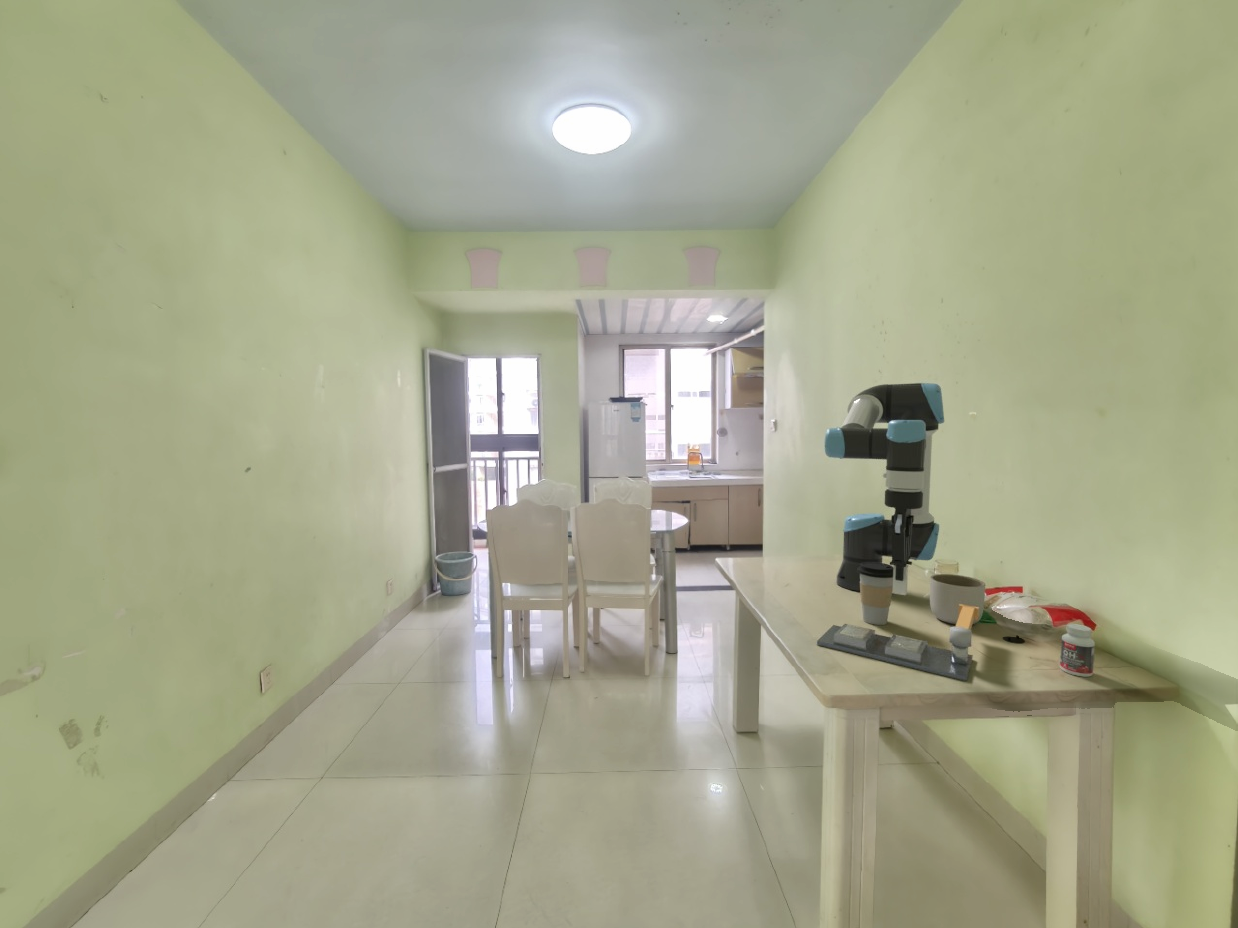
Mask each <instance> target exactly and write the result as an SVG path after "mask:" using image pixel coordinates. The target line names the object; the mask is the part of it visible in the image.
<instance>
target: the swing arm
mask: <svg viewBox="0 0 1238 928" xmlns="http://www.w3.org/2000/svg"><path fill="white" fill-rule="evenodd" d="M978 613H979V607H974V606H968V605H962V604H959V615H958V616H959V618H958V620H957V623H956V624H955V626H950V628H949V641H948V642H949V644H951V645H952V644H953V645H956V646H960V647H968V648H970V647H971V646H972V639H973V637H972V636H973V633H972V632H973V631H972V627H973V625H974V624H973V621H974V619H975V620H978Z"/></svg>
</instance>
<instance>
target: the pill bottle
mask: <svg viewBox="0 0 1238 928" xmlns="http://www.w3.org/2000/svg"><path fill="white" fill-rule="evenodd" d="M1065 631H1066V633H1064V634H1062V636H1061V641H1060V642H1061V645H1060V655H1059V657H1060V659H1059V660H1060V661H1059V668H1060V669H1061V670H1062V671H1063V672H1065V673H1067V674H1069V675H1073V676H1078V677H1081V678H1082V677H1084V678H1088V677H1091V676H1093V673H1094V662H1095V661H1094V660H1095V647H1096V642H1095V640H1094V639H1093V638H1092V628H1090V627H1089V626H1085V625H1082V624H1078V623H1077V624H1076V623H1067V625H1066V629H1065Z"/></svg>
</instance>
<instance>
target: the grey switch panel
mask: <svg viewBox="0 0 1238 928" xmlns="http://www.w3.org/2000/svg"><path fill="white" fill-rule="evenodd" d="M816 645H817V646H819V647H820V646H821V647H824V648H829V649H832V650H836V651H841V652H844V653H850V654H852V655H858V656H861V657H865V658H869V659H873V660H877V661H881V662H885V663H890V664H894V665H899V666H902V667H906V668H910V669H914V670H918V671H923V672H927V673H930V674H934V675H937V676H938V675H939V676H943V677H948V678H952V679H956V680H959V681H964V682H967V680H968V676H969V674H970V670H971V666H972V663H973V658H974V657H973V655H972V654H969V647H960V646H956V645H953V644H951V650H950V649H946V648H941V647H937V646H931V645H928V640H922V639H918V638H913V637H908V636H904V635H899V634H892V636H887V635H882V634H877V633H876V629H871V628H867V627H866V628H865V627H862V626H858V625H854V624H852V625H851V624H849V623H844V624H843V625H842V626H841V625H839V626H838V625H837V624H833V625H832V626H830V627H829V629H827V631H826V632H825V633H823V634H822V635H821V636H820V637H819V639H818V640H816Z"/></svg>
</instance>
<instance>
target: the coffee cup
mask: <svg viewBox="0 0 1238 928" xmlns="http://www.w3.org/2000/svg"><path fill="white" fill-rule="evenodd" d="M893 566H894V565H890V564H888V563H885V562H882V563H879V562H863V563H861V564H860V567H858V570H857V572H858V573H860V591H859V593H860V603H861V611H862V620H863V621H864V622H865V623H868V624H871V625H877V626H884V625H886V624H887V623H888V617H889V614H890V613H889V611H890V607H891V603H892V596H893V593H892V591H893Z"/></svg>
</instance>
